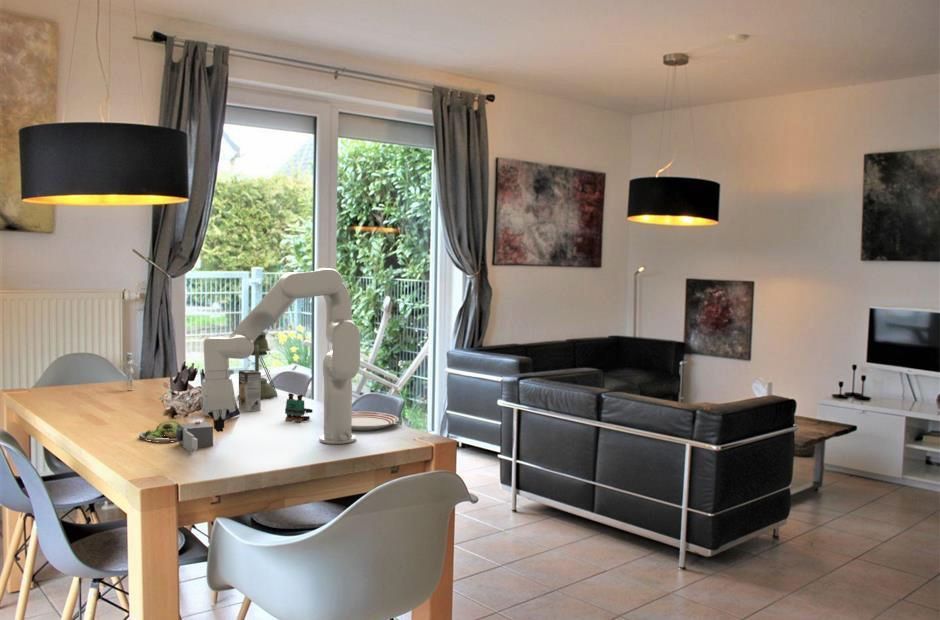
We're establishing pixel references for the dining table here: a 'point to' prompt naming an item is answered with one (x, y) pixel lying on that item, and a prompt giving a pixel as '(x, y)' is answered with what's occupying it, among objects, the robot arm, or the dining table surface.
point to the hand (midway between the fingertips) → (219, 430)
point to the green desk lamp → (261, 349)
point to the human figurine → (129, 368)
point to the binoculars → (296, 409)
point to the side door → (190, 441)
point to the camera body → (197, 433)
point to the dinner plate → (372, 420)
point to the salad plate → (162, 432)
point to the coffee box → (249, 390)
